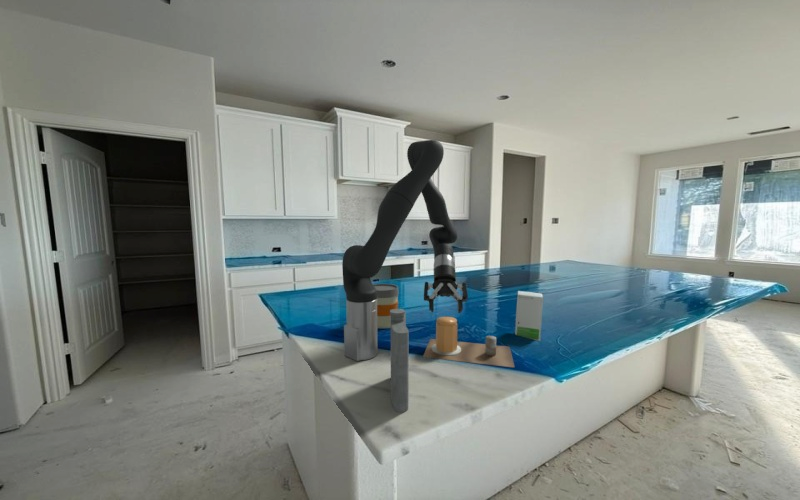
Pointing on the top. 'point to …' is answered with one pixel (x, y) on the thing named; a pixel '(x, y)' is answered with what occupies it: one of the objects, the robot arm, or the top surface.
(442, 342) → the cap
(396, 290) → the reusable coffee cup
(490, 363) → the post board
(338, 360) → the top surface
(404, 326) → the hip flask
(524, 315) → the skincare box
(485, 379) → the top surface
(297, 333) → the top surface
